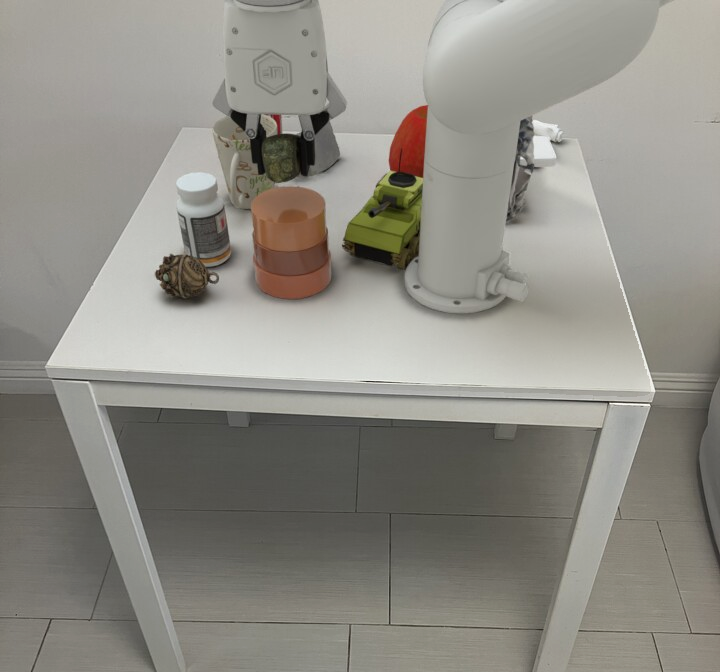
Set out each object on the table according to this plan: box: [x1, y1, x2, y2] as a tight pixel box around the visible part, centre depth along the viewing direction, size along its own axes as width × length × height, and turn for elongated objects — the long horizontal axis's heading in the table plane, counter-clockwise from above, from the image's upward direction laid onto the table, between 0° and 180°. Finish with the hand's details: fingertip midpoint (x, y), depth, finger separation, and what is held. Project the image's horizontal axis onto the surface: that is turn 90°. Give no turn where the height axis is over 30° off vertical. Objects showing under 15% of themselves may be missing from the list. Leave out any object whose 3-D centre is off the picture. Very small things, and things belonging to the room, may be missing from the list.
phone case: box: [520, 135, 558, 168], centre depth 118 cm, size 7×1×15 cm
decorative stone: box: [262, 132, 300, 184], centre depth 87 cm, size 12×4×5 cm, turn 177°
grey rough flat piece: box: [506, 115, 535, 223], centre depth 106 cm, size 15×4×13 cm, turn 178°
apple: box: [388, 104, 428, 178], centre depth 109 cm, size 10×10×10 cm
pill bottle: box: [175, 171, 232, 268], centre depth 97 cm, size 6×6×10 cm
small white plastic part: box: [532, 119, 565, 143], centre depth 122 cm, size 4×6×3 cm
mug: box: [211, 114, 277, 210], centre depth 105 cm, size 8×13×10 cm, turn 174°
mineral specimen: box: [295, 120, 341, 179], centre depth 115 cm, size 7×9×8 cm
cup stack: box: [250, 186, 332, 300], centre depth 94 cm, size 9×9×10 cm
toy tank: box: [341, 148, 423, 271], centre depth 99 cm, size 8×15×10 cm, turn 154°
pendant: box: [154, 253, 220, 300], centre depth 93 cm, size 5×8×5 cm, turn 85°
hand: (284, 168), depth 89 cm, fingers closed on decorative stone, 4 cm apart
